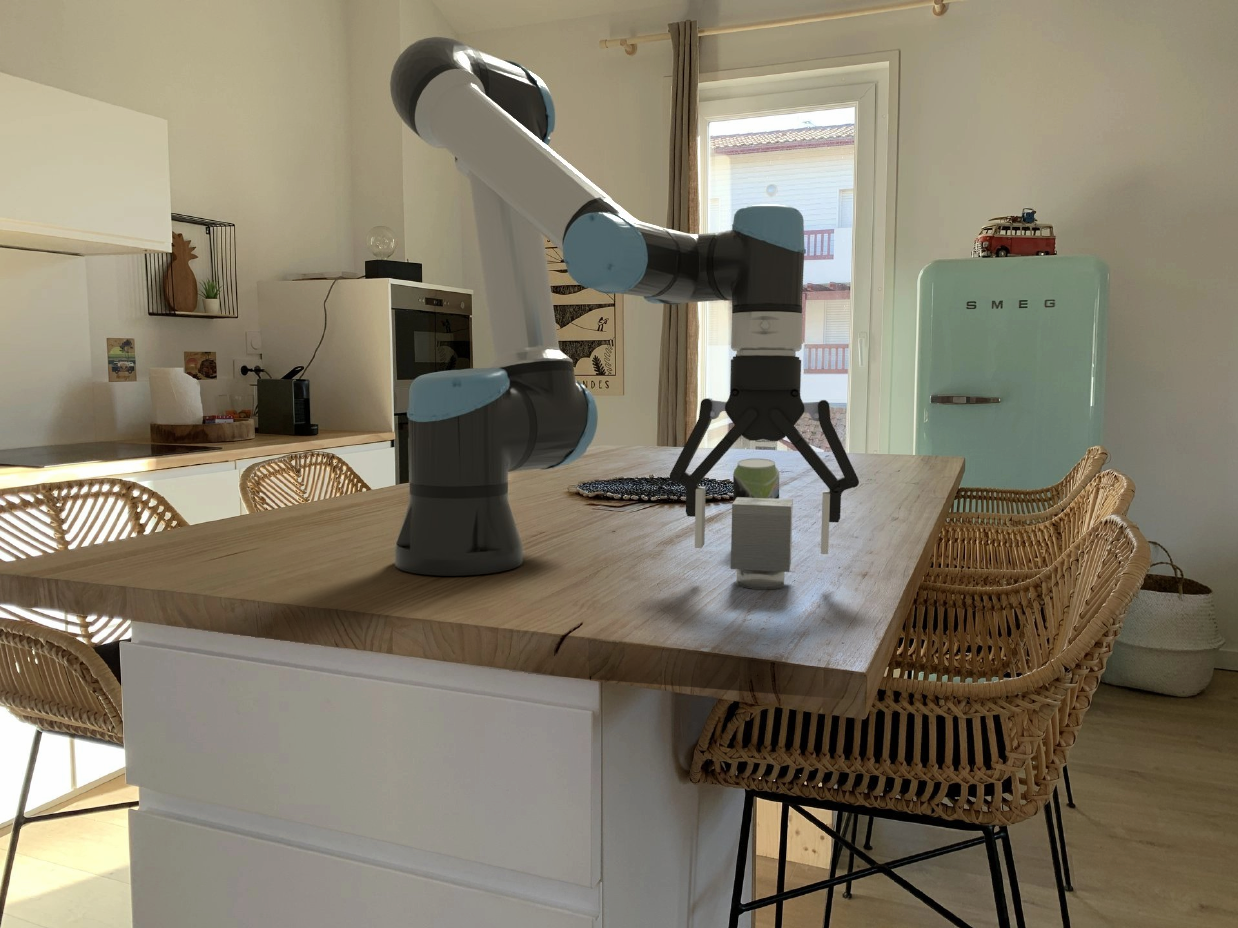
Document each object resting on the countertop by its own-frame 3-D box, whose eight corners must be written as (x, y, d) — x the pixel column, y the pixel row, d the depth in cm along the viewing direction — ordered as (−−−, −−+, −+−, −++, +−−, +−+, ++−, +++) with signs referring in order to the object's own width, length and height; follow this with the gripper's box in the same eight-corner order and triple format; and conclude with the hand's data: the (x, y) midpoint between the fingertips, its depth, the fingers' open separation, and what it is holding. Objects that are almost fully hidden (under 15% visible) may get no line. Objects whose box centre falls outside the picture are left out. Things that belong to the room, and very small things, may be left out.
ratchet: (734, 587, 100) (735, 535, 100) (746, 558, 117) (747, 513, 116) (783, 590, 99) (784, 538, 99) (788, 560, 116) (789, 515, 115)
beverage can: (777, 544, 127) (779, 457, 126) (780, 554, 120) (783, 462, 119) (731, 543, 128) (732, 456, 127) (732, 553, 121) (734, 461, 120)
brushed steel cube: (730, 568, 99) (732, 504, 99) (735, 558, 105) (737, 497, 105) (789, 571, 98) (791, 506, 97) (791, 560, 104) (792, 499, 103)
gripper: (645, 352, 99) (643, 549, 101) (888, 353, 94) (881, 561, 95) (657, 354, 106) (655, 538, 108) (883, 355, 101) (876, 548, 103)
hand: (761, 549), depth 102 cm, fingers open, 13 cm apart
